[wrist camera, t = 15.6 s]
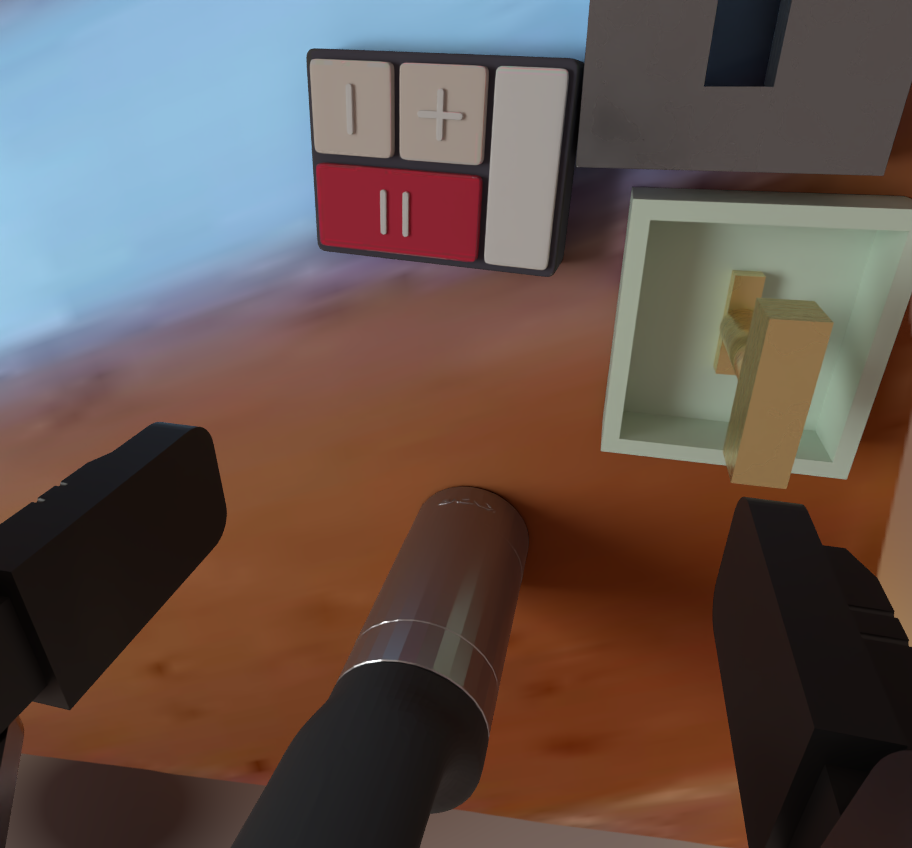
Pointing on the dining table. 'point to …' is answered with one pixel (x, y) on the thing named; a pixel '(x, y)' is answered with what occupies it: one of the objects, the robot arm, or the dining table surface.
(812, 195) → the tray
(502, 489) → the dining table surface
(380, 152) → the calculator
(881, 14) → the lock block
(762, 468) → the t key
